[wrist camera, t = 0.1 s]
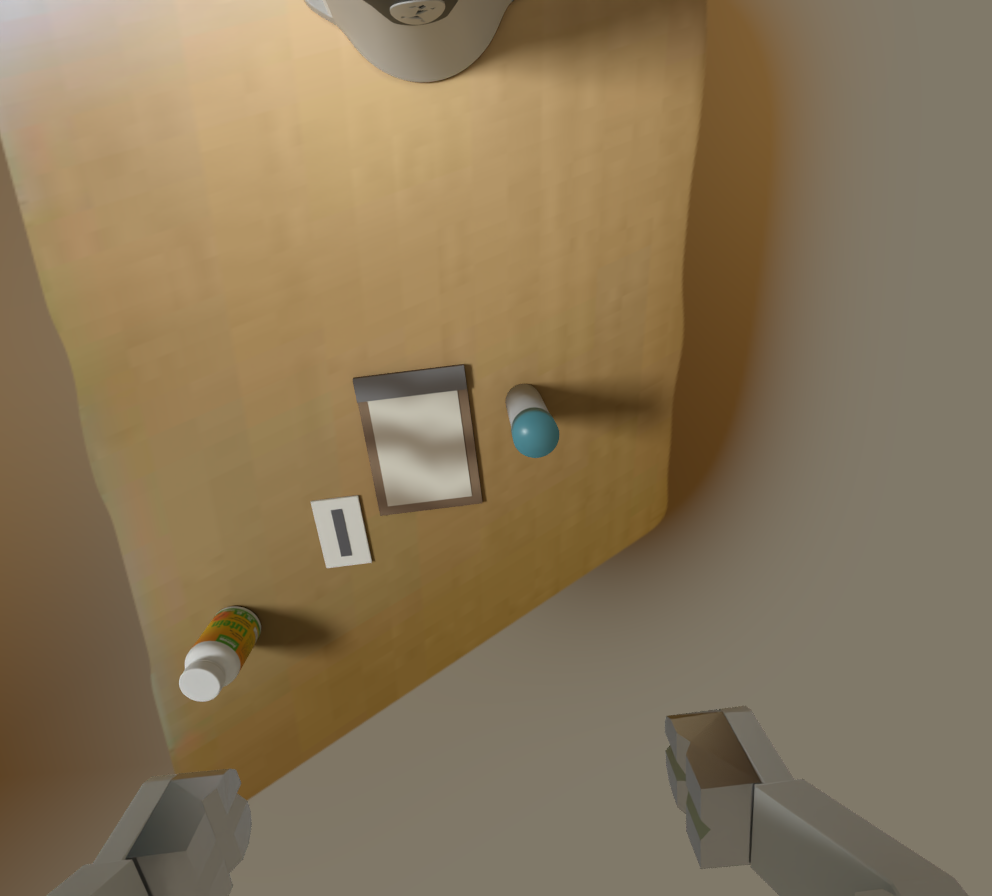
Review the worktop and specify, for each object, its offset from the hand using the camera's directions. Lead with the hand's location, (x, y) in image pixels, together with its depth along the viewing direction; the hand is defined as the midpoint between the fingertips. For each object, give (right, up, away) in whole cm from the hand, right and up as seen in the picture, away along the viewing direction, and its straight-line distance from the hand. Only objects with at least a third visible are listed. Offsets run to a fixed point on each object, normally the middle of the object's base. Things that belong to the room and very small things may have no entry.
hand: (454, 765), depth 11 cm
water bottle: (+4, +11, +47) cm, 48 cm away
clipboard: (-7, +7, +48) cm, 49 cm away
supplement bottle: (-29, -14, +54) cm, 63 cm away
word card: (-16, -3, +51) cm, 53 cm away
